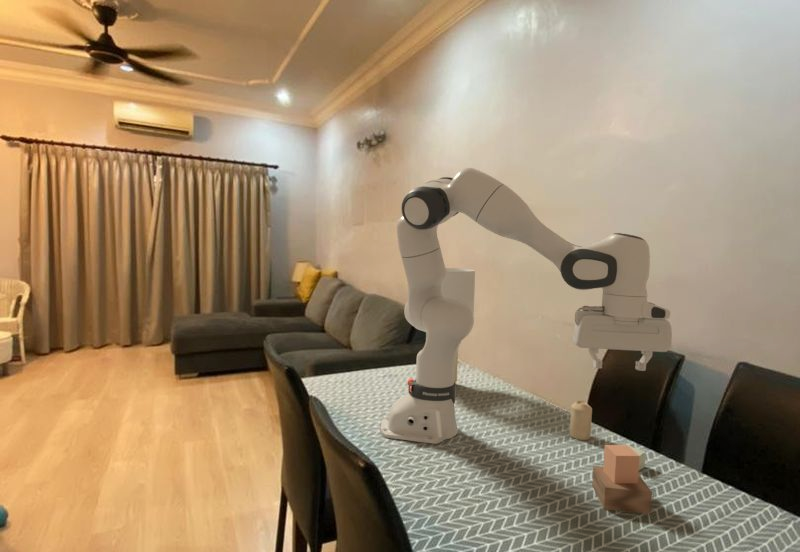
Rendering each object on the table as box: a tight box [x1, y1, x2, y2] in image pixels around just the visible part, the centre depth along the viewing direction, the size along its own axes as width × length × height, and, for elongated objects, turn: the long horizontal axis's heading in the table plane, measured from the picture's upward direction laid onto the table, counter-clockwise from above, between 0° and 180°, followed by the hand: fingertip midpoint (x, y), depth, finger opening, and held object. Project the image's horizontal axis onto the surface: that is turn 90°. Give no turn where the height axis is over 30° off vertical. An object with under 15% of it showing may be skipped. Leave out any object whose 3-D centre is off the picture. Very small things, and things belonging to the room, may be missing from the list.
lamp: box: [425, 267, 476, 383], centre depth 169 cm, size 23×23×44 cm
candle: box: [569, 400, 593, 441], centre depth 128 cm, size 6×6×10 cm
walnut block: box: [591, 465, 653, 515], centre depth 96 cm, size 9×9×5 cm
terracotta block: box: [602, 444, 640, 483], centre depth 96 cm, size 5×5×6 cm
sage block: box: [624, 444, 647, 471], centre depth 111 cm, size 5×5×4 cm
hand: (618, 369), depth 99 cm, fingers open, 8 cm apart
